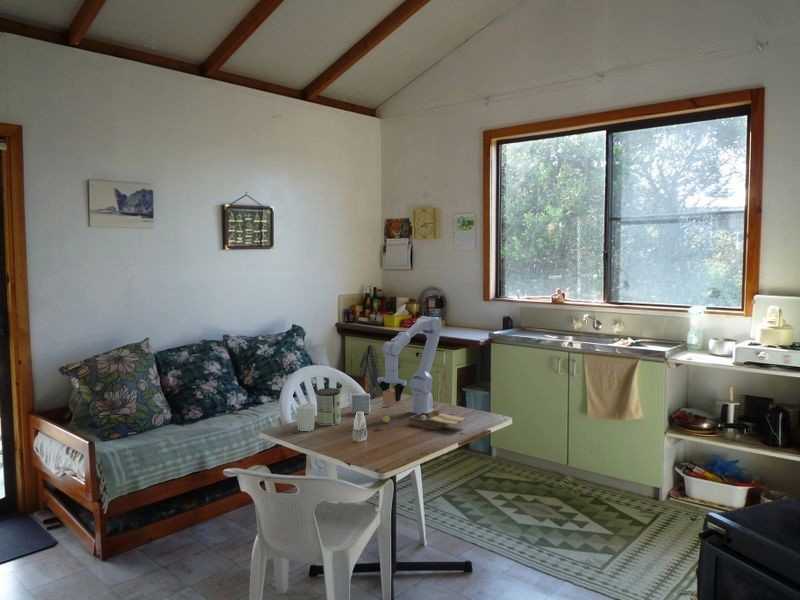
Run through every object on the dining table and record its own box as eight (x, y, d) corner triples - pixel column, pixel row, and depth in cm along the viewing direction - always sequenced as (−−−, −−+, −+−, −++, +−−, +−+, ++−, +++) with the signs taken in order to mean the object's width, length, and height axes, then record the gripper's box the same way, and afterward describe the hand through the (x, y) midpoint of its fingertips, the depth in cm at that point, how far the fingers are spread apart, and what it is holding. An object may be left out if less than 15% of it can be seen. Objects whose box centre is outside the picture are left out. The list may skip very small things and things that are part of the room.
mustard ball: (385, 421, 269) (385, 414, 268) (391, 422, 267) (391, 415, 267) (381, 422, 266) (381, 416, 266) (387, 424, 264) (386, 417, 264)
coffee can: (318, 419, 273) (317, 388, 271) (341, 419, 273) (340, 387, 272) (315, 426, 262) (314, 393, 261) (340, 425, 263) (339, 393, 262)
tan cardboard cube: (390, 401, 274) (390, 388, 274) (400, 403, 271) (400, 390, 271) (383, 404, 270) (382, 391, 269) (393, 406, 267) (393, 392, 266)
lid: (438, 414, 266) (438, 407, 265) (466, 419, 258) (466, 412, 257) (425, 419, 258) (425, 412, 257) (454, 425, 249) (454, 417, 249)
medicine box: (370, 411, 285) (370, 393, 284) (369, 414, 280) (368, 395, 279) (353, 411, 285) (353, 393, 285) (352, 414, 281) (351, 395, 280)
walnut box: (421, 419, 271) (421, 412, 271) (449, 424, 263) (449, 416, 263) (408, 424, 263) (408, 417, 263) (436, 430, 255) (436, 422, 254)
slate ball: (422, 420, 269) (422, 413, 269) (428, 421, 267) (428, 414, 267) (418, 422, 266) (418, 415, 266) (424, 423, 265) (424, 416, 264)
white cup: (319, 429, 258) (318, 405, 257) (304, 433, 252) (303, 409, 251) (307, 425, 263) (307, 402, 262) (292, 429, 258) (292, 406, 257)
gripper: (372, 369, 270) (373, 399, 272) (400, 372, 262) (400, 404, 263) (382, 366, 276) (383, 396, 277) (409, 369, 268) (409, 400, 269)
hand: (392, 399), depth 271 cm, fingers closed on tan cardboard cube, 6 cm apart
